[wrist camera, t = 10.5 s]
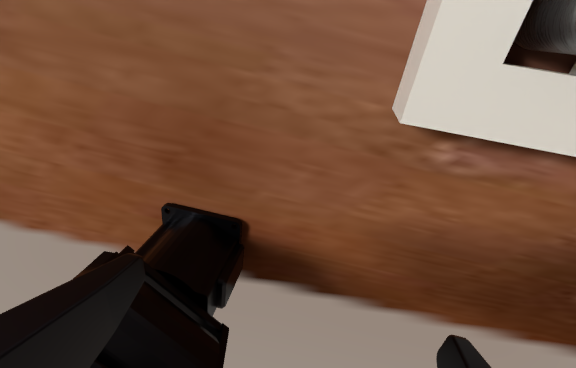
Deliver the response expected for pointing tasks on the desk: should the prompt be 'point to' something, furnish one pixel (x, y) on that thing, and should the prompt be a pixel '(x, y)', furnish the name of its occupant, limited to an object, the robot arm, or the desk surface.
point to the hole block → (484, 79)
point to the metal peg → (549, 27)
